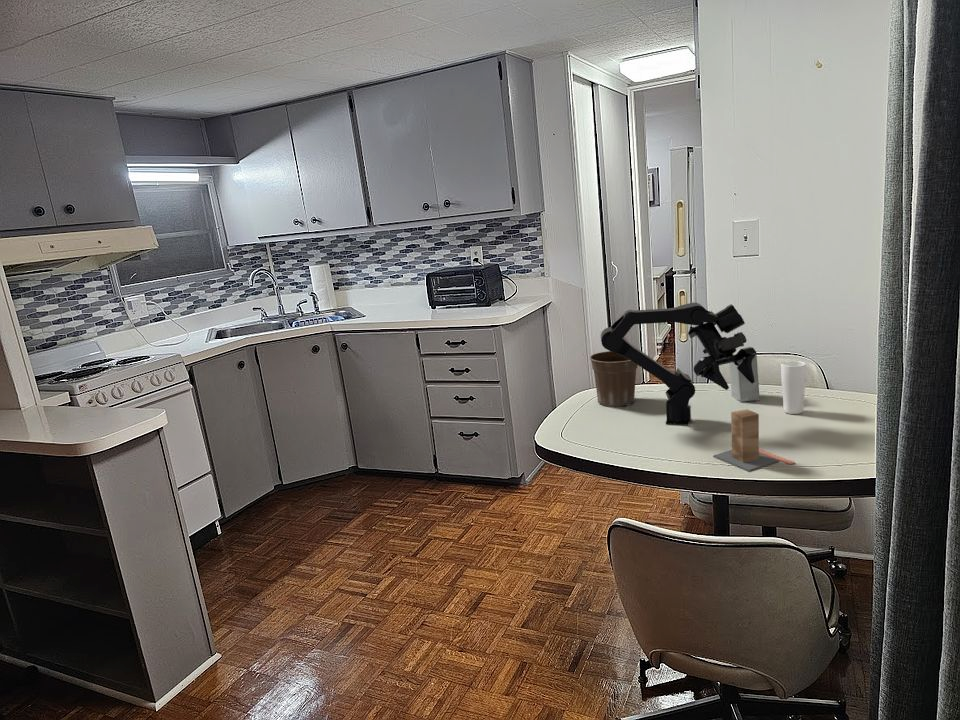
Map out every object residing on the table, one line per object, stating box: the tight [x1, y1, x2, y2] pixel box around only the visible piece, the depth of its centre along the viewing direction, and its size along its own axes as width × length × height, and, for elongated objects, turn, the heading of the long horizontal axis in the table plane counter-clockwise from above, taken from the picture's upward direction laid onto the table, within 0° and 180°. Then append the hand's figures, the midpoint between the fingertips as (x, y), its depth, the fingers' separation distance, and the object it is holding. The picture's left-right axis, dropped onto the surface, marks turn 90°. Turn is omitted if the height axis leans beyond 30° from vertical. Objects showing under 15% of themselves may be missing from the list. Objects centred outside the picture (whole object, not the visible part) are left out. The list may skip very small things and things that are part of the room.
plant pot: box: [589, 350, 638, 408], centre depth 224 cm, size 16×16×16 cm
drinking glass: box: [780, 360, 807, 415], centre depth 198 cm, size 7×7×15 cm
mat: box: [712, 449, 780, 472], centre depth 170 cm, size 12×10×1 cm
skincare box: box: [728, 348, 761, 403], centre depth 215 cm, size 8×7×16 cm
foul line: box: [759, 448, 796, 466], centre depth 172 cm, size 18×2×1 cm, turn 24°
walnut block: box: [730, 408, 760, 462], centre depth 168 cm, size 5×5×12 cm
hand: (740, 385), depth 185 cm, fingers open, 9 cm apart
